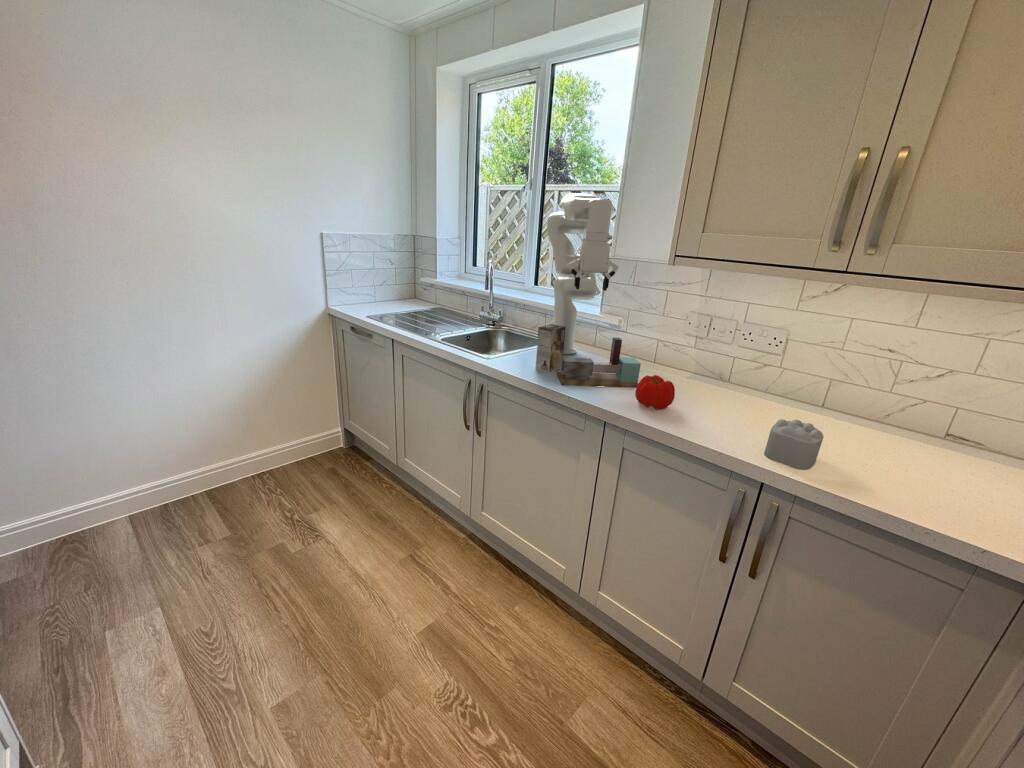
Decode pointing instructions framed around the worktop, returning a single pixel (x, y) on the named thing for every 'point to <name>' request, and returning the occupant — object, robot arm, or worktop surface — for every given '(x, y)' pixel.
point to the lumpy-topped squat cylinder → (794, 444)
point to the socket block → (629, 370)
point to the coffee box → (550, 347)
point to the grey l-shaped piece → (614, 360)
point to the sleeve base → (596, 381)
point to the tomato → (655, 392)
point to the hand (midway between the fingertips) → (590, 289)
